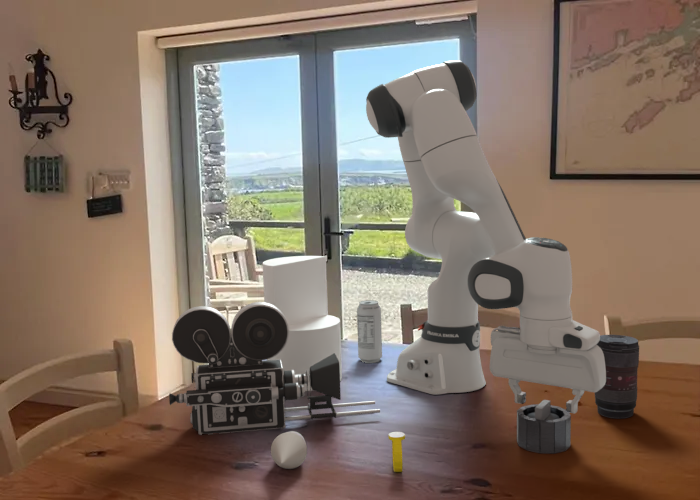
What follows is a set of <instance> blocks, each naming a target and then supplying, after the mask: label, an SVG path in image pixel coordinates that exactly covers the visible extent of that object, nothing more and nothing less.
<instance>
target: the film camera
mask: <svg viewBox="0 0 700 500" xmlns="http://www.w3.org/2000/svg"><path fill="white" fill-rule="evenodd" d="M288 335H289V329H288V324H287V321H286V318H285V316H284V315H283V313H282V312H281V311H280V310H279V309H278V308H277V307H276V306H274V305H272V304H270V303H266V302H264V301H255V302H251V303H248V304H246V305H245V306H243V307H242V308H241V309H239V310H238V311H237V312H236V314H235V315H234V318H233V319H232V323H231V326H230V324H229V321H228V319H227V318H226V317H225V315H224V314H223V313H222V312H220V311H219V310H218V309H216V308H214V307H211V306H207V305H206V306H205V305H200V306H193V307H191V308H188V309H187V310H185V311H184V312H182V313H181V314H180V315H179V317H178V318H177V319H176V321H175V323H174V326H173V328H172V332H171V341H172V343H173V346H174V348H175V350H176V351H177V352H178V354H179V355H180V356H181V357H182V358H185V359H187V360H189V361H192V362H193V363H194V362H195V363H197V364H198V365H197V366H196V368H195V372H194V373H193V372H191V383H192V384H193V383H195V389H190V390H186V392H183V393H176V395H175V394H173V393H171V392H169V394H168V398H169V399H168V402H169V405H170V406H171V405H172V404H174V403H177V404H183V403H184V404H186V407H191V412H190V414H189V415H190V419H189V421H190V424H192V429H193V430H195V431H196V432H198V435H200V436H203V435H202V434H208V435H214V434H213V433H219V434H229V433H230V432H231V433H241V432H251V431H262V430H273V429H274V430H276V429H285V428H286V426H287V425H286V421H296V420H298V421H299V420H306V419H307V420H308V419H310V420H312V421H313V419H323V418H324V419H325V418H337V417H342V416H344V417H345V416H355V415H366V414H378V413H379V414H380V413H381V409H380V408H378V409H376V408H375V409H366V410H354V411H351V410H350V411H342V412H339V411H338V412H337V411H336V409H335V408H345V407H357V406H360V407H361V406H369V405H376V400H371V401H370V400H369V401H358V402H346V403H332V402H333V401H332V398H334V399H336V400H339V401H341V381H340V366H339V361H338V359H337V357H336V355H335V353H334V354H332V355H330V356H328V357H327V358H325V359H323V360H321V361H320V362H318V363H316V364H314V365H312V366H311V367H310V372H309V374H307V370H306V374H299V375H295V374H294V370H290V371H284V375H283V367H282V363H281V360H280V359H279V360H267V359H270V358H272V357H274V356H276V355H277V354H278V353H279V352H281V351H282V349H283V348H284V347H285V345H286V343H287V340H288ZM307 375H309V381H310V391H308V389H307V391H305V388H304V385H299V384H307V386H308V376H307ZM311 388H312V390H313V391H315V392H318V393H321V394H322V395H320V394H319V395H312V391H311ZM308 393H309V395H308ZM305 396H306V399H307V400H309V403H307V406H296V407H294V406H293V407H285V406H286V405H285V401H296V400H297V401H298V400H300V397H305ZM326 409H330V410H331V412H326V413H323V412H322V413H313V411H315V410H326ZM297 411H298V412H299V411H308V413H309V414H305V415H292V416H286V412H297Z"/></svg>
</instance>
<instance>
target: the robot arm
mask: <svg viewBox="0 0 700 500" xmlns="http://www.w3.org/2000/svg"><path fill="white" fill-rule="evenodd" d="M365 99H366V101H365V102H366V105H365V112H366V117H367V121H368V122H369V124H370V126H371V127H372V128H373V129H374V131H375V132H376V133H377V135H379V136H381V137H383V138H388V139H389V138H390V139H391V138H397V141H398V146H399V150H400V153H401V154H400V155H401V157H402V160H403V162H402V163H403V165H404V169H405V172H406V176H407V179H408V184H409V187H410V190H411V196H412V197H411V199H412V208H411V209H412V211H411V216H410V218H409V219H408V220H407V222H406V226H405V228H404V229H405V230H404V237H405V241H406V243H407V246H408V247H409V248H410V249H411V250H412V251H414V252H416V253H418V254H420V255H422V256H424V257H426V258H431V259H438V260H441V267H440V271H439V273H438V276H437V278H436V279H435V280H433V281H432V282H431V283H430V285H429V286H428V287H427V320H426V321H424V322H422V324H419V325H417V327H418V328H417V331H421V335H420V337H419V338H418V339H415V341H413V342H412V343H410V345H408V346H406V348H404V349H403V350H401V352H400V353H399V354H398V357H397V362H396V368H395V369H393V370H392V371H391V372H389V373H388V374H387V376H386V382H389V383H391V384H394V385H399V386H400V387H401V386H402V387H405V388H408V389H412V390H415V391H419V392H422V393H427V394H430V395H435V396H436V395H444V394H454V393H455V394H456V393H467V392H468V393H469V392H473V391H474V392H475V391H478V390H480V389H482V388H483V387H485V385H486V383H487V382H486V379H485V376H484V372H483V368H482V361H481V357H480V356H481V355H480V345H481V327H480V326H481V323H480V321H479V320H478V319H479V317H478V316H479V313H478V312H479V306H480V307H481V308H483V309H487V310H503V309H511V308H516V309H518V310H519V327H517V326H516V327H514V326H506V325H498V326H497V327H495V328H493V329H492V331H491V332H490V344H491V349H490V350H491V351H490V356H489V357H490V358H489V371H490V373H491V374H492V375H493V377H498V378H504V379H508V385H509V387H510V389H511V391H512V393H513V394H514V403H515V404H522V405H523V404H525V403H526V401H527V392H525V391H522V389H521V387H520V384H519V383H520V382H521V381H523V382H527V383H528V382H529V383H534V384H541V385H545V386H547V385H548V386H553V387H558V388H559V387H560V388H565V389H571V390H572V392H571V394H572V395H573V396H574V397H573V399H569V400H568V401H566V403H565V410H566V412H569V413H571V414H576V413H577V412H578V410H579V408H578V407H579V406H578V403H579V402H580V399H581V398H582V397H583V395H584V393H585V392H589V393H595V392H598V391H599V390H600V389H601V388H603V386H604V385H605V383H606V367H605V359H604V354H603V351H602V350H601V348H600V347H599V346H598V345H596V344H597V343H598V342H599V341H600V336H601V334H600V331H598V330H597V329H595V328H592V327H590V326H588V325H585V324H582V323H580V322H579V321H576V320H574V319H573V311H572V309H571V296H572V294H573V270H572V268H573V267H572V259H571V254H570V252H569V249H568V247H567V246H566V245H565V244H564V243H562V242H561V241H558V240H555V239H552V238H547V237H537V236H535V237H534V236H533V237H529V238H528V237H526V236H525V234H524V232H523V230H522V227H521V226H520V223H519V221H518V219H517V217H516V215H515V213H514V211H513V208H512V207H511V205H510V202H509V199H508V198H507V196H506V193H505V191H504V189H503V188H502V186H501V184H500V183H499V181H498V178H496V175H495V174H494V172H493V170H492V168H491V165H490V164H489V162H488V159H487V157H486V154H485V152H484V149H483V148H482V147H483V146H482V145H481V142H480V139H479V136H478V135H477V132H476V129H475V127H474V124H473V123H472V120H471V118H470V117H469V115H468V113H467V111H468V110H470V109H471V108H472V107H473V106H474V104H475V102H476V100H477V83H476V79H475V77H474V75H473V73H472V71H471V69H470V67H468V65H467V64H466V63H464V62H463V61H462V60H458V59H455V60H447V61H443V62H442V63H440V64H435V65H431V66H426V67H423V68H419V69H416V70H413V71H412V72H410V73H407V74H404V75H403V76H400V77H397V78H395V79H393V80H391V81H389V82H387V83H385V84H384V83H381V84H379V85H377V86H375V87H373V88H372V89H370V90H369V92H368V93H367V96H366V98H365ZM455 200H457V201H459V202H461V203H463V204H464V205H466V206H467V207H469V208H470V209H471V210H472V211H459V210H457V209H456V207H455Z"/></svg>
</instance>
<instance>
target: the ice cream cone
mask: <svg viewBox="0 0 700 500" xmlns="http://www.w3.org/2000/svg"><path fill="white" fill-rule="evenodd" d="M270 454H271V455H270V456H271V458H272V460H273V461H274V463H275V464H277V466H279V467H280V468H283V469H285V470H293V469H296V468H298V467H299V466H301V465H302V464H303V463H304V461H305V460H306V458H307V454H308V447H307V442H306V440H305V438H304V436H303V435H302V434H301V433H300V432H297V431H293V430H291V431H286V432H283V433H280V434H279V435H278V436H277V435H276V437H275V438H274V440H273V441H272V443H271V447H270Z"/></svg>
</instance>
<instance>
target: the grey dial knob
mask: <svg viewBox="0 0 700 500" xmlns="http://www.w3.org/2000/svg"><path fill="white" fill-rule="evenodd" d="M538 404H539V405H537V406H536V407H535V412H534V413H530V414H528V415H527V416H528V417H530V418H533V419H538V420H555V419H559V416H557V415H556V414H553V413H551V411H550V405H551V400H548V399H542V401H541V402H539V403H538Z"/></svg>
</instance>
